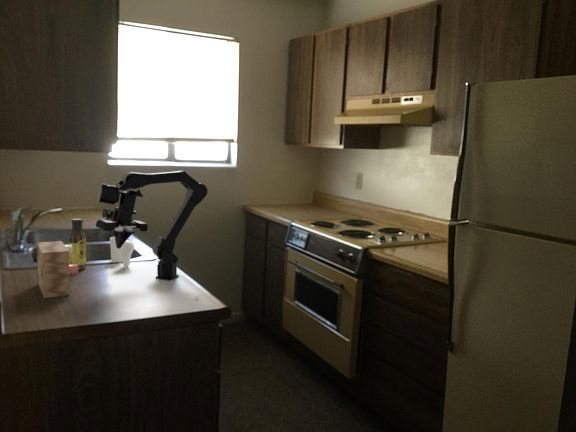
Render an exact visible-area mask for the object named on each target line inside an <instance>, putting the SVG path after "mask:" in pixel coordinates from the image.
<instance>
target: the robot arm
mask: <svg viewBox="0 0 576 432" xmlns="http://www.w3.org/2000/svg"><path fill="white" fill-rule="evenodd" d="M165 183H166V184H168V183H180V184H181V185H182V186H183V187H184V189H185V188H186V191H185V195H184V196H185V197H184V201H183V203H182V205H181V206H180V208H179V209H178V211H177V213H176V215H174V216H175V217H174V218H173V220H172V222H171V223H170V225H169V227H168V229H167V230H166V232H164V234H163V235H162V236H160V235H157V237H156V239H155V241H154V242H153V243H152V245H153V246H152V253H153V255H154V256H156V257H157V259H158V261H157V262H158V263H157V265H156V266H157V267H156V268H157V271H156V273H157V275H156V276H155V278H156V279H161V280H167V281H169V280H170V281H171V280H173V279H175V278H178V277H179V276H180V274H177V273H178V272H177V271H178V268H177V267H178V264H177V263H178V260H179V257H178V256H177V255H175V254H174V250H175V246H176V242H177V241H176V240H177V239H178V236H179V235H180V233H181V232H182V230H183V228H184V227H185V225H186V223H187V221H188V220H189V219H190V216H191V214H192V212H193V211H194V210H195V208H196V207H197V206H198V205H199V204H201V202H202V201H203V200H204V199H205V198H206V197H207V195H208V187H207V186H206V185H205V184H204V183H201V182H198V180H196V179H195V178H193V177H192V176H190V175H189V174H188V173H187V172H186V171H184V170H177V171H165V172H154V173H153V172H151V173H144V172H143V173H142V172H135V171H127V172H125V173H123V175H122V177H121V180H119V181H118V183H117V184H115V185H110V184H106V183H101V184H100V187H99V189H98V191H97V197H96V201H97V203H99V204H105V205H111V206H112V205H113V206H115V204H117V203H118V204H117V205H118V206H115V208H114V210H113V211H112V210H111V209H110V208H103V209H102V212H101V214H102V215H101V216H102V218H100V219H97V220H96V223H95V227H96V228H99V229H100V230H103V231H104V232H105V231H106V232H108V231H109V232H113V233H112V234H113V235H114V236H113V237H115V241H116V247H117V248H118V249H119V248H121V247H122V245H123V244H124V243H125V241H126V240H128V239H129V238H130V236H131V237H132V235H133V234H135V231H133V229H139V232H147V231H148V228H149V226H148V224H147V223H146V222H145V221H144V222H143V221H141V220H133V218H134V215H137V211H136V210H135V209H136V203H137V198H143V197H144V194H143V193H142V192H141V190H140V189H141V188H144V187H146V186H150V185H155V184H165Z"/></svg>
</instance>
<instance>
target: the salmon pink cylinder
mask: <svg viewBox="0 0 576 432" xmlns="http://www.w3.org/2000/svg"><path fill="white" fill-rule="evenodd" d="M78 273H79V270H78V265H77V264H75V265H70V264H69V275H71V274H72V275H73V274H78Z"/></svg>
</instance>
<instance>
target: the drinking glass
mask: <svg viewBox="0 0 576 432" xmlns="http://www.w3.org/2000/svg"><path fill="white" fill-rule="evenodd" d="M109 245H110V248H109V249H110V262H111V261H112V262H111V263H115V262H120V263H123V260H122V255H121V253H120V251H119V249H118V248H117V247H116V241H115V236H111V237H110V238H109Z"/></svg>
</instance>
